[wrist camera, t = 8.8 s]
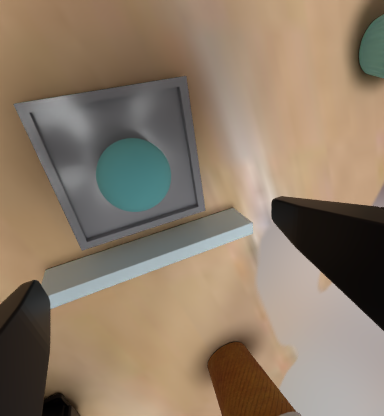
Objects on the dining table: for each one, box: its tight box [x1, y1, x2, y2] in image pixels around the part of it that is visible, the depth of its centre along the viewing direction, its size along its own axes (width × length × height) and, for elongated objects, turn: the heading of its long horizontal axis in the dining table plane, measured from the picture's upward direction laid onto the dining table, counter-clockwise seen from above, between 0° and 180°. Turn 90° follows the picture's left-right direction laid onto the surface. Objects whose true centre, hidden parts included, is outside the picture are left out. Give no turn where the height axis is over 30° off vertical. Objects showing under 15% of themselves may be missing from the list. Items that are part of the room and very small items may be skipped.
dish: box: [14, 76, 205, 250], centre depth 18 cm, size 11×11×1 cm
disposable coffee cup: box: [208, 342, 301, 416], centre depth 30 cm, size 10×10×12 cm
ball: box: [96, 138, 171, 212], centre depth 16 cm, size 5×5×5 cm
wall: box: [41, 208, 253, 309], centre depth 21 cm, size 18×1×4 cm, turn 99°
